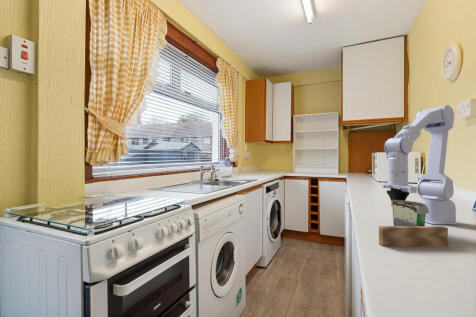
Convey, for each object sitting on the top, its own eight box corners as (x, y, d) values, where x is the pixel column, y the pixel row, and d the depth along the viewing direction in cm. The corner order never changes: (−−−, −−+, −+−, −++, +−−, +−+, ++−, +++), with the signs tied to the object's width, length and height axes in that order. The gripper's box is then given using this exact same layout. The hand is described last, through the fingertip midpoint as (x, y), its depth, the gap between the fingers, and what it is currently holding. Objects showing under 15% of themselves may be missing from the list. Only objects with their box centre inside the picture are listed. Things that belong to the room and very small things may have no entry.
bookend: (397, 233, 75) (397, 217, 75) (421, 244, 65) (421, 226, 65) (378, 232, 75) (378, 217, 75) (400, 244, 65) (400, 226, 65)
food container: (440, 241, 67) (440, 207, 67) (418, 241, 67) (419, 207, 67) (408, 228, 79) (409, 199, 79) (390, 228, 79) (391, 199, 79)
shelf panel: (443, 244, 65) (443, 226, 65) (448, 246, 63) (447, 228, 63) (378, 243, 65) (378, 226, 65) (382, 245, 63) (382, 227, 63)
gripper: (374, 170, 88) (374, 206, 87) (400, 172, 73) (400, 215, 73) (392, 171, 87) (392, 206, 87) (423, 173, 73) (423, 216, 73)
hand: (397, 211), depth 80 cm, fingers closed
